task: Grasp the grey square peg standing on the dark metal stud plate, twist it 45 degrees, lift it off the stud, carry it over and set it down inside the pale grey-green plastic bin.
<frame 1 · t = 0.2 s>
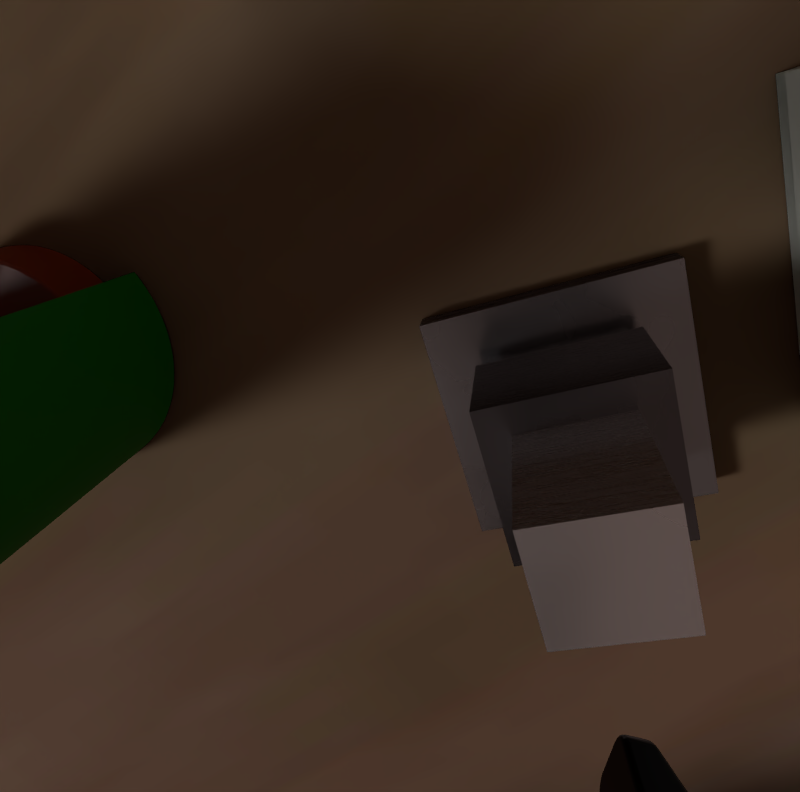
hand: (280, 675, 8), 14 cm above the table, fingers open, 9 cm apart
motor: (63, 359, 23), on the table
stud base: (568, 400, 21), on the table
grey square peg: (573, 419, 19), point 1 cm above the table, touching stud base
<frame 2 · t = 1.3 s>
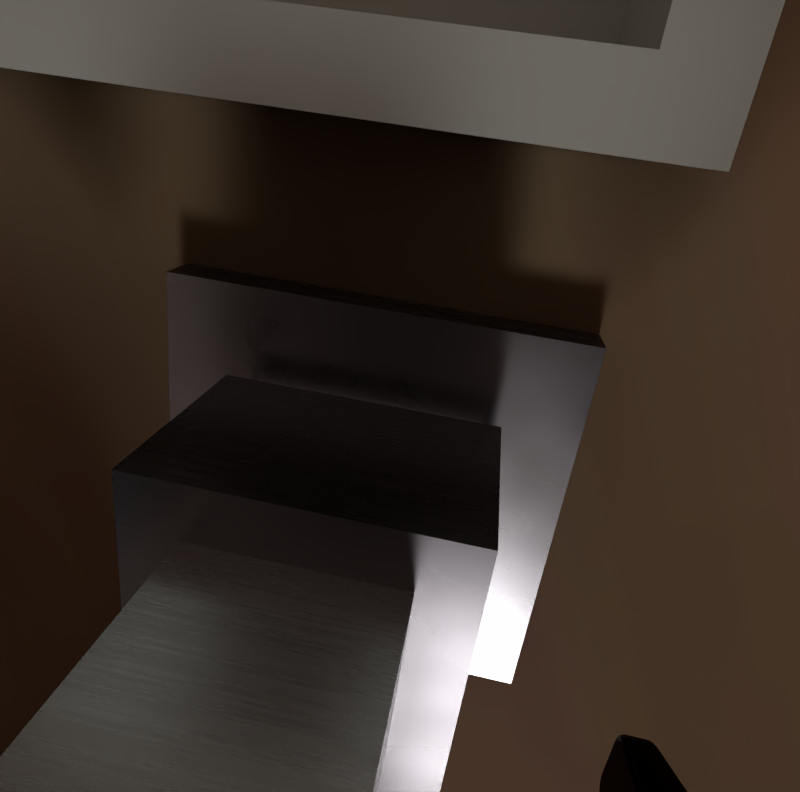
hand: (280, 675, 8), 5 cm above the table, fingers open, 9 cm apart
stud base: (364, 478, 13), on the table
grey square peg: (347, 517, 12), point 1 cm above the table, touching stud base
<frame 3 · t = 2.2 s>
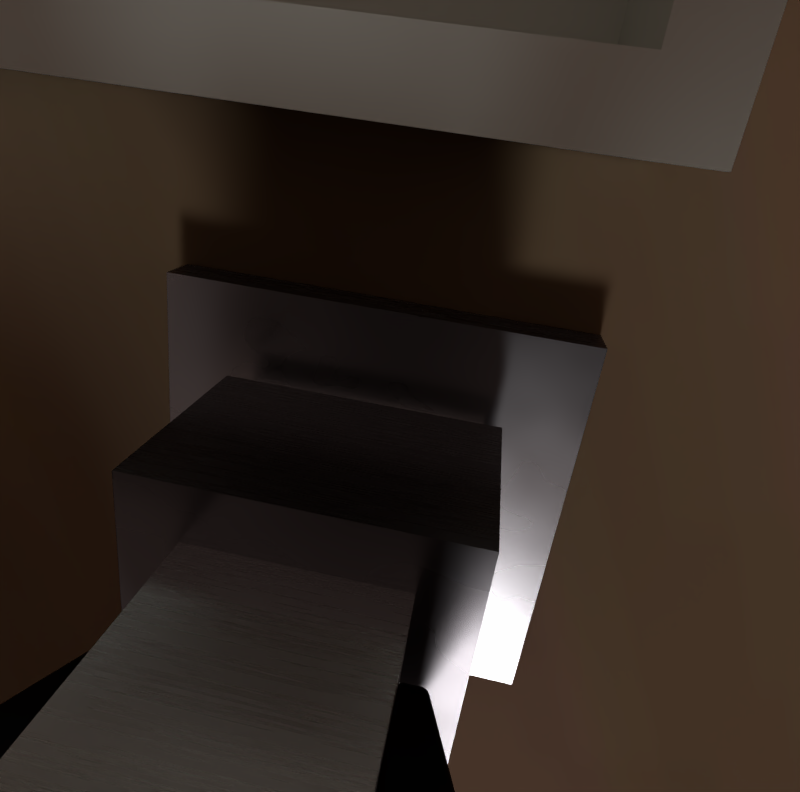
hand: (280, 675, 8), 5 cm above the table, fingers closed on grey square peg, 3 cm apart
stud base: (364, 478, 13), on the table
grey square peg: (347, 517, 12), point 2 cm above the table, touching gripper, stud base
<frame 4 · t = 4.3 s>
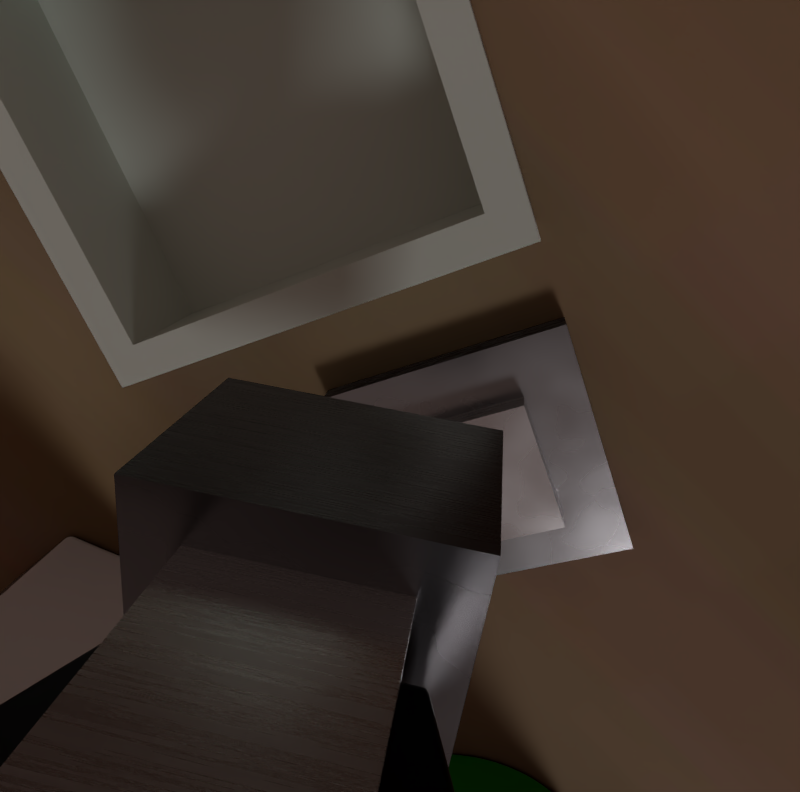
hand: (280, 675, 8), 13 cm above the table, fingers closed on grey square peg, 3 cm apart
bin: (266, 89, 17), on the table
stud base: (479, 462, 21), on the table
grey square peg: (348, 520, 12), point 9 cm above the table, touching gripper
jar: (112, 615, 27), on the table
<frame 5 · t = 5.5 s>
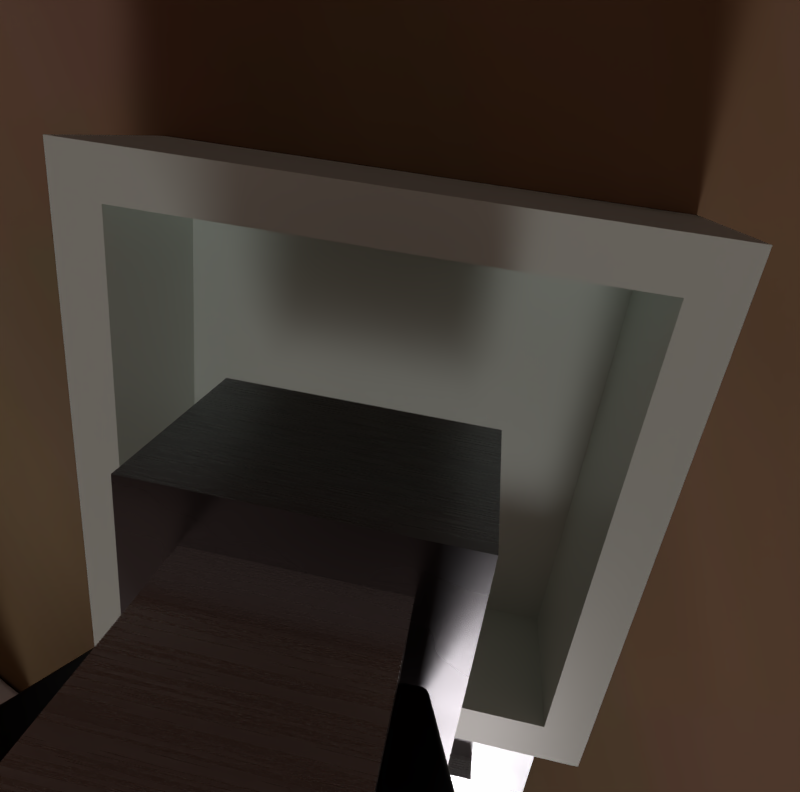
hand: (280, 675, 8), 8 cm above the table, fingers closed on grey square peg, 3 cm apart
bin: (386, 416, 16), on the table
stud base: (398, 764, 21), on the table
grey square peg: (347, 520, 12), point 5 cm above the table, touching gripper
when the fingers open (7 cm above the table, at t = 6.4 s): grey square peg drops 2 cm, resting on bin.
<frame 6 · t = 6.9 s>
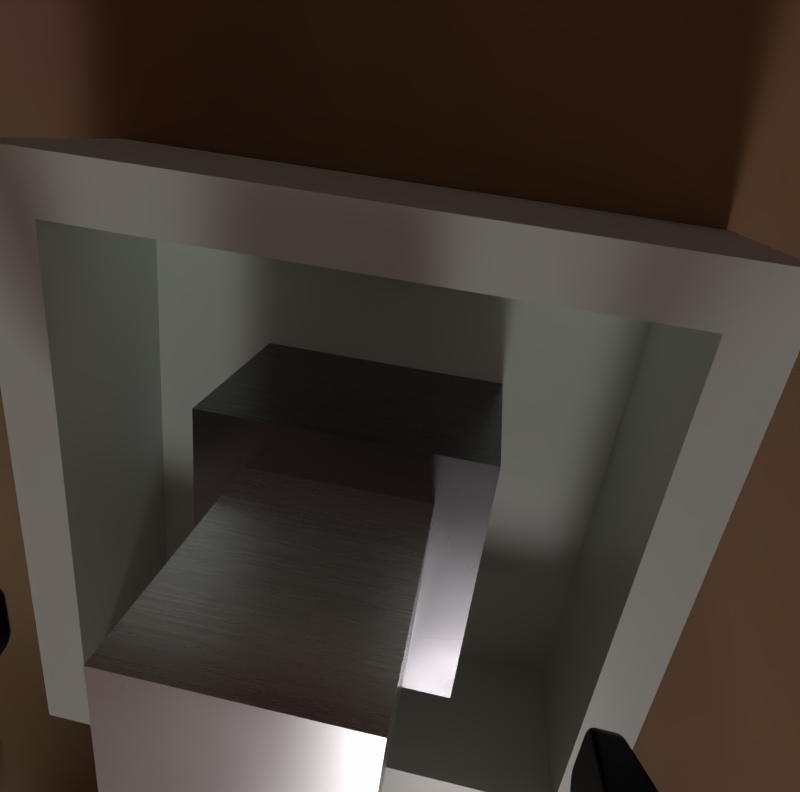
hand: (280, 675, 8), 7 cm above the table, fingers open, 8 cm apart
bin: (375, 450, 14), on the table
grey square peg: (371, 465, 14), point 1 cm above the table, touching bin
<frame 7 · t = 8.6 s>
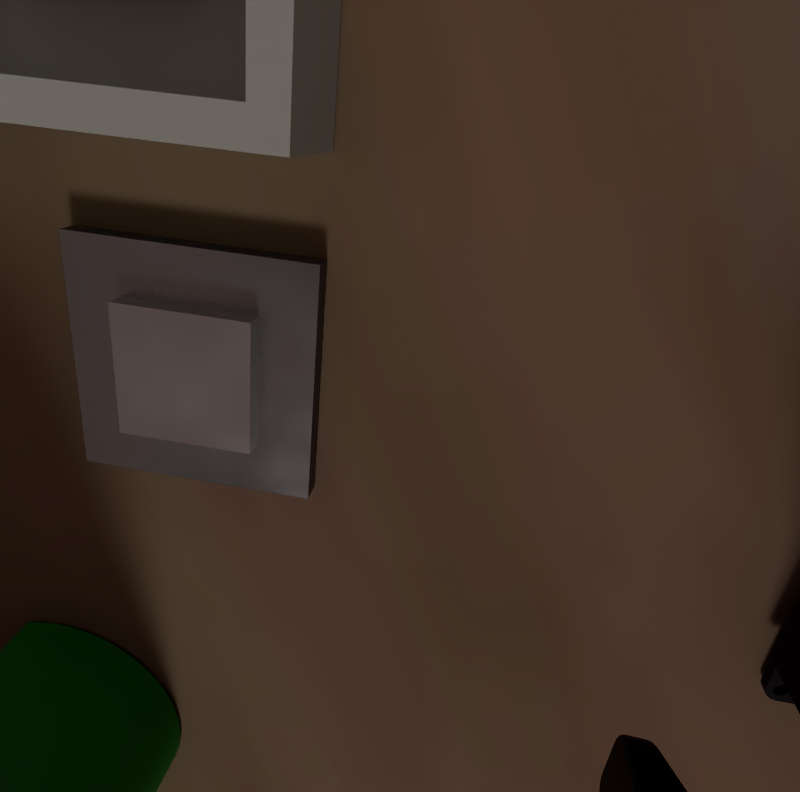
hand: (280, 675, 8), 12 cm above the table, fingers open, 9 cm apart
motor: (91, 703, 28), on the table
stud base: (202, 364, 20), on the table
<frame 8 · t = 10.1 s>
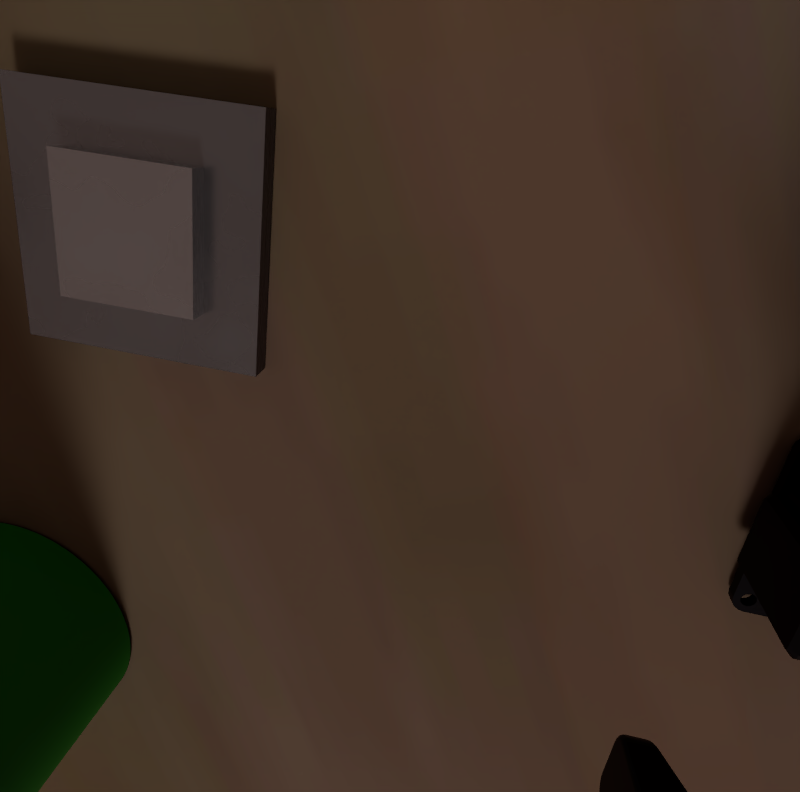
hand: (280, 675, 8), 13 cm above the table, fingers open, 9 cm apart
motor: (41, 614, 27), on the table
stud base: (149, 229, 19), on the table
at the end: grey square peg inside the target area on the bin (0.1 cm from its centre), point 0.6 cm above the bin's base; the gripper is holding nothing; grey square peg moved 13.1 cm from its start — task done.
